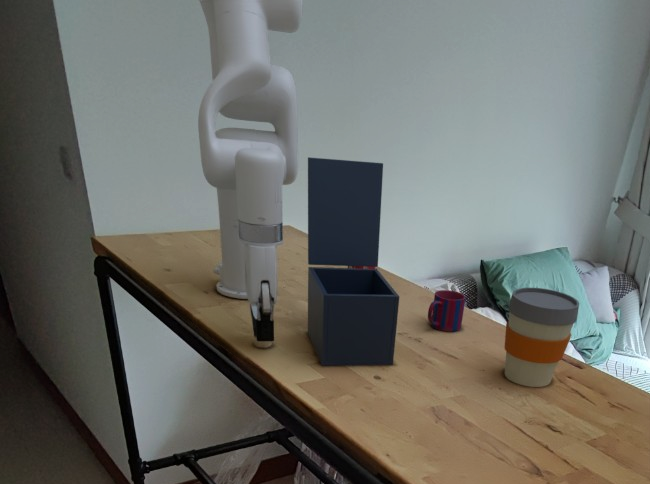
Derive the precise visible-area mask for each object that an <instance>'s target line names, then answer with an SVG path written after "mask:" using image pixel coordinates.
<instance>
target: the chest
mask: <svg viewBox="0 0 650 484" xmlns="http://www.w3.org/2000/svg"><path fill="white" fill-rule="evenodd" d="M307 268H308V270H307V335H308V337H309V339H310V341H311V344H312V346H313V348H314V351H315V353H316V355H317V357H318V360H319V362H320V364H321V366H322V367H330V366H331V367H335V366H393V365H394V358H395V347H396V337H397V325H398V316H399V306H400V305H399V304H400V295H399V294H398V293H397V291H396V290H395V289H394V288H393V286H392V285H391V284H390V283H389V282H388V280H387V279H386V278H385V277H384V276H383V274H382V273H381V272H380V270H379V269H378V268H377V269H358V268H348V267H319V266H308V267H307Z"/></svg>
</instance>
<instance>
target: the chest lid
mask: <svg viewBox="0 0 650 484" xmlns="http://www.w3.org/2000/svg"><path fill="white" fill-rule="evenodd" d="M383 174H384V163H383V162H375V161H373V162H372V161H361V160H347V159H336V158H335V159H334V158H322V157H307V265H308V266H337V267H342V266H343V267H348V266H366V267H377V268H378V267H379V251H380V233H381V232H380V231H381V216H382V215H381V214H382V196H383V195H382V192H383V176H384V175H383Z"/></svg>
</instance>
